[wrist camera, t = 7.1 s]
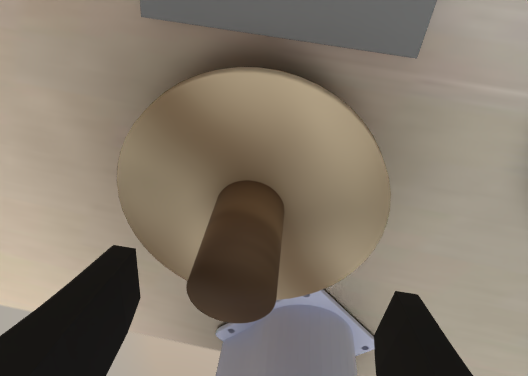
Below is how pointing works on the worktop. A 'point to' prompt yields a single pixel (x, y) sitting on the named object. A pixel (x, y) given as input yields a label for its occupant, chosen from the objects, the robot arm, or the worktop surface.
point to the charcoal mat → (310, 20)
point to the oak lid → (253, 188)
